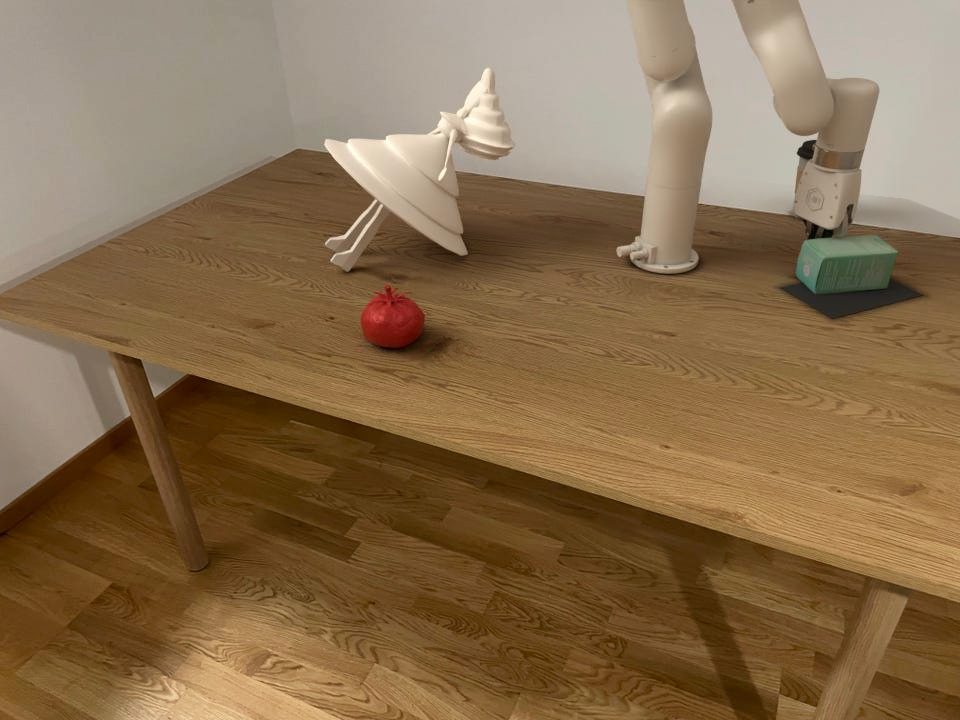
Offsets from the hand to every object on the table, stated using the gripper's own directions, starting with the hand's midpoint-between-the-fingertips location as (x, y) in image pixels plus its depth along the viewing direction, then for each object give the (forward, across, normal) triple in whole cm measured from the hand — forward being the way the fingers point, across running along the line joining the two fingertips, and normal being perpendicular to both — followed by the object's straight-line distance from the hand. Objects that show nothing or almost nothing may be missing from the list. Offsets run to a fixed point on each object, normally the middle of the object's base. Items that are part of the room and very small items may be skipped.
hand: (813, 256), depth 131 cm
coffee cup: (+3, -20, +18) cm, 27 cm away
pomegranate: (+2, -8, -77) cm, 78 cm away
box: (+2, +7, 0) cm, 7 cm away
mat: (+2, +10, 0) cm, 10 cm away
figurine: (+2, -38, -63) cm, 73 cm away
